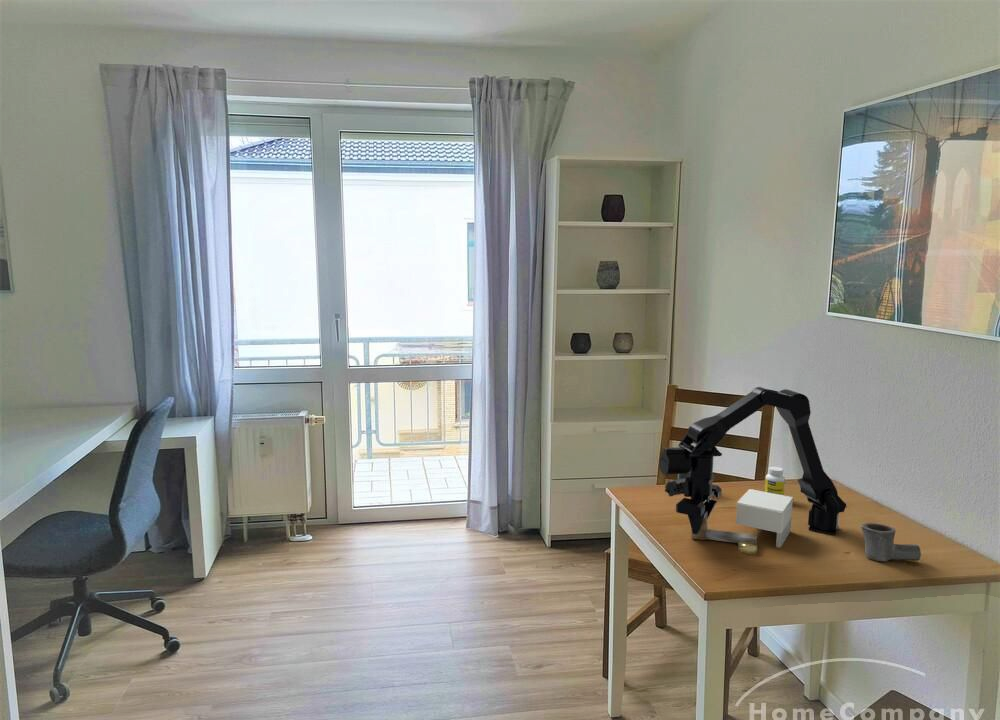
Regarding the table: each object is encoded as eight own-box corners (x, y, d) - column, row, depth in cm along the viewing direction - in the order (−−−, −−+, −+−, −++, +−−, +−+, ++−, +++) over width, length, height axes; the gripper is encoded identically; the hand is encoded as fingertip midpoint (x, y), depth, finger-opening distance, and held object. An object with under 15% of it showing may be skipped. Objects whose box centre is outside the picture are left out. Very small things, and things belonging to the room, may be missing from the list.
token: (757, 549, 164) (757, 542, 164) (756, 556, 160) (757, 549, 160) (738, 546, 166) (739, 539, 165) (737, 553, 162) (737, 546, 161)
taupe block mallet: (756, 539, 167) (757, 517, 166) (756, 546, 163) (757, 524, 162) (693, 531, 173) (693, 510, 172) (691, 538, 169) (691, 516, 168)
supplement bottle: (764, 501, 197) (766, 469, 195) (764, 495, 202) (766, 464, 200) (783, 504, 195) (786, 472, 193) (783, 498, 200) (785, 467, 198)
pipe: (922, 567, 154) (926, 535, 153) (863, 562, 156) (866, 530, 155) (912, 556, 160) (915, 525, 159) (854, 551, 162) (857, 520, 161)
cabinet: (790, 531, 174) (792, 497, 173) (779, 548, 164) (782, 511, 163) (747, 522, 180) (749, 488, 179) (734, 537, 170) (736, 502, 169)
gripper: (682, 458, 180) (679, 513, 182) (657, 476, 165) (654, 535, 167) (723, 465, 174) (720, 522, 176) (701, 484, 158) (698, 546, 161)
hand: (697, 530), depth 170 cm, fingers closed on taupe block mallet, 4 cm apart
